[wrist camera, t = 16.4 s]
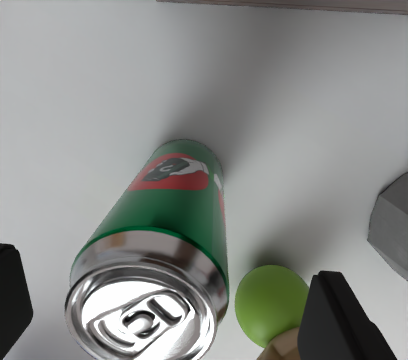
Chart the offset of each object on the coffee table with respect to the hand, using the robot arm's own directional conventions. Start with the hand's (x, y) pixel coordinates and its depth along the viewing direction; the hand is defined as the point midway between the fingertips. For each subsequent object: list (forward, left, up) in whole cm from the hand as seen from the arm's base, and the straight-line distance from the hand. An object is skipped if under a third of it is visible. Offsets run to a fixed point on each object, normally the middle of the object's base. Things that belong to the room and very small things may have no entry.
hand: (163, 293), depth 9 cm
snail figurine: (+9, -6, -11) cm, 15 cm away
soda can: (0, 0, -11) cm, 11 cm away
